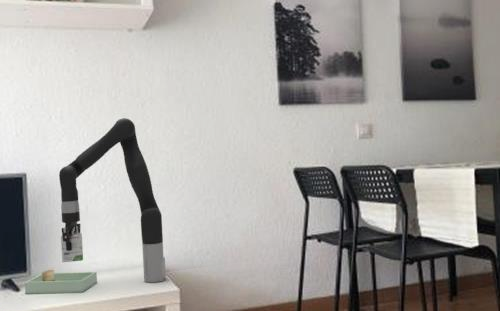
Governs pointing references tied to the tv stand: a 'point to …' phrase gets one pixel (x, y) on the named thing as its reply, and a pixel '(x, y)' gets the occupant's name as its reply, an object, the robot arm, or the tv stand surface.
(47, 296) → the tv stand surface
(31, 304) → the tv stand surface
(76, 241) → the ink box
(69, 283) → the tote
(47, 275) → the beech cylinder
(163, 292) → the tv stand surface
